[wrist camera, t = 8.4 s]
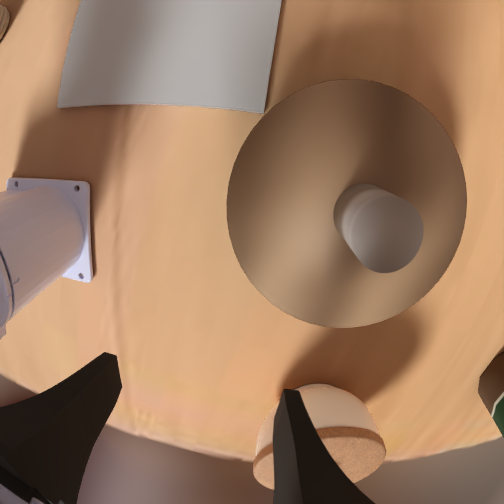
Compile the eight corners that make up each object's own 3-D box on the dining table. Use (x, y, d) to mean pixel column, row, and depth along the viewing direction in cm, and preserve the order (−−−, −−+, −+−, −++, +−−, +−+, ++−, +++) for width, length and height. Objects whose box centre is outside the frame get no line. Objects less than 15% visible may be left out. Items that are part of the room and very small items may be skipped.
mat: (61, 108, 17) (57, 107, 16) (104, -49, 12) (101, -52, 11) (263, 113, 17) (263, 112, 16) (292, -60, 12) (292, -64, 11)
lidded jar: (244, 426, 27) (238, 503, 18) (275, 354, 23) (278, 451, 15) (337, 437, 28) (349, 506, 19) (386, 372, 24) (417, 452, 15)
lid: (223, 312, 17) (212, 362, 13) (237, 67, 12) (227, 39, 8) (427, 321, 17) (456, 362, 13) (470, 116, 12) (520, 116, 8)
